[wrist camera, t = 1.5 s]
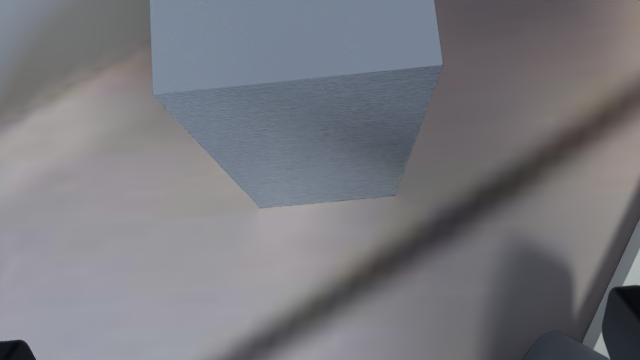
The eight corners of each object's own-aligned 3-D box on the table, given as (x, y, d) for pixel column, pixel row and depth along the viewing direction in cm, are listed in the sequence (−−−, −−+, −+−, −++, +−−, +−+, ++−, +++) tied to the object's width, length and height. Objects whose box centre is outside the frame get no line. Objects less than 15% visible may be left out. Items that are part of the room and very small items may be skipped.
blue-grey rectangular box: (394, 195, 23) (443, 64, 10) (260, 208, 23) (152, 94, 11) (379, 69, 24) (408, -186, 11) (251, 82, 24) (144, -156, 12)
